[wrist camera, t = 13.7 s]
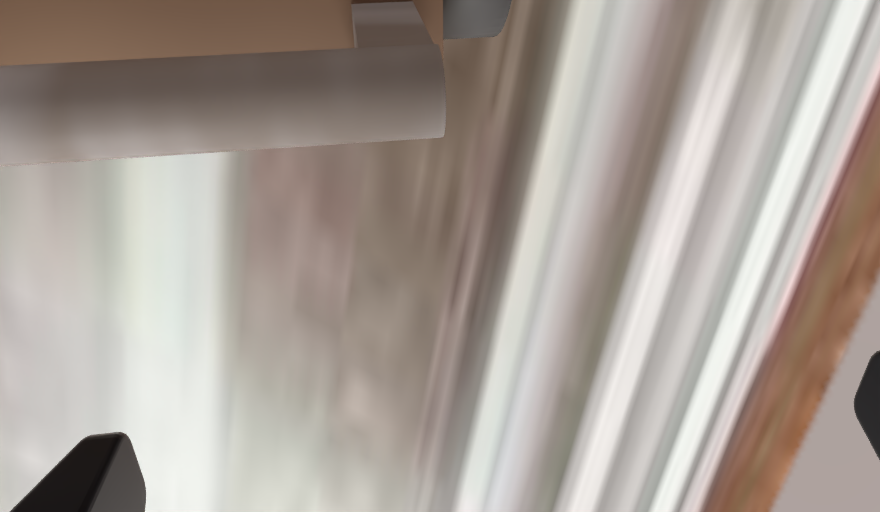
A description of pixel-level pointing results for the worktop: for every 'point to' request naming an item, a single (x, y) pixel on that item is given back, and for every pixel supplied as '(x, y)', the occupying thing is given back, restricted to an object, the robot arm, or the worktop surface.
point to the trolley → (223, 74)
